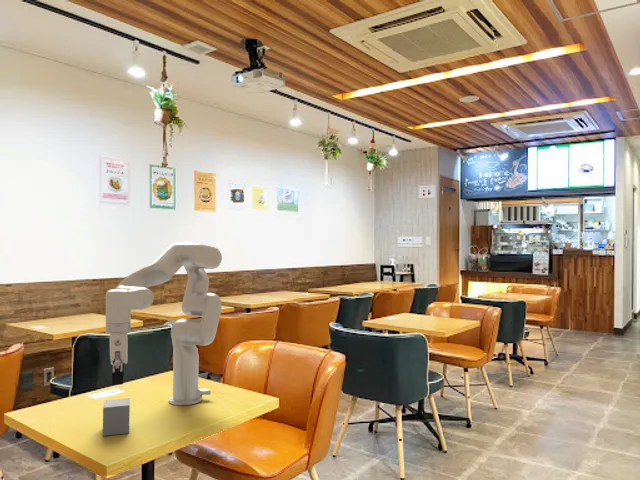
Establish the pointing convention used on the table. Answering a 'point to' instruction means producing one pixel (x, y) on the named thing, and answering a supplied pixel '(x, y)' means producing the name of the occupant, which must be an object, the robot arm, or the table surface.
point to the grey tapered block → (116, 416)
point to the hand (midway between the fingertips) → (118, 380)
